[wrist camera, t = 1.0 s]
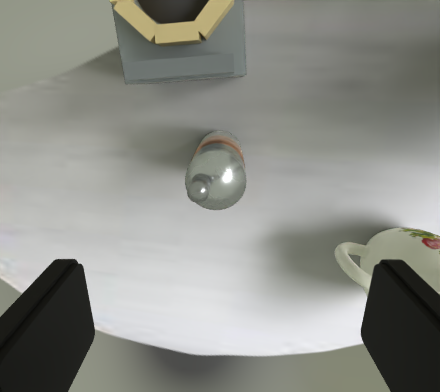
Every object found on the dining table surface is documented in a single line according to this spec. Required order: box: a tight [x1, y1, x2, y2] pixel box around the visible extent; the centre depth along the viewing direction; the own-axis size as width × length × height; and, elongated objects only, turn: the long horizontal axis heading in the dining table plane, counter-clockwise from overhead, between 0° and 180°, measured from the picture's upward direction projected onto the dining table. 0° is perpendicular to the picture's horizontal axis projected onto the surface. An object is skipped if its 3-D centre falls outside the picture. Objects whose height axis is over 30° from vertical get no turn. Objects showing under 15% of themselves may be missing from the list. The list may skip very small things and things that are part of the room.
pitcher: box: [335, 228, 440, 297], centre depth 32 cm, size 11×18×14 cm, turn 70°
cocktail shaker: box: [185, 131, 246, 210], centre depth 29 cm, size 5×5×13 cm
